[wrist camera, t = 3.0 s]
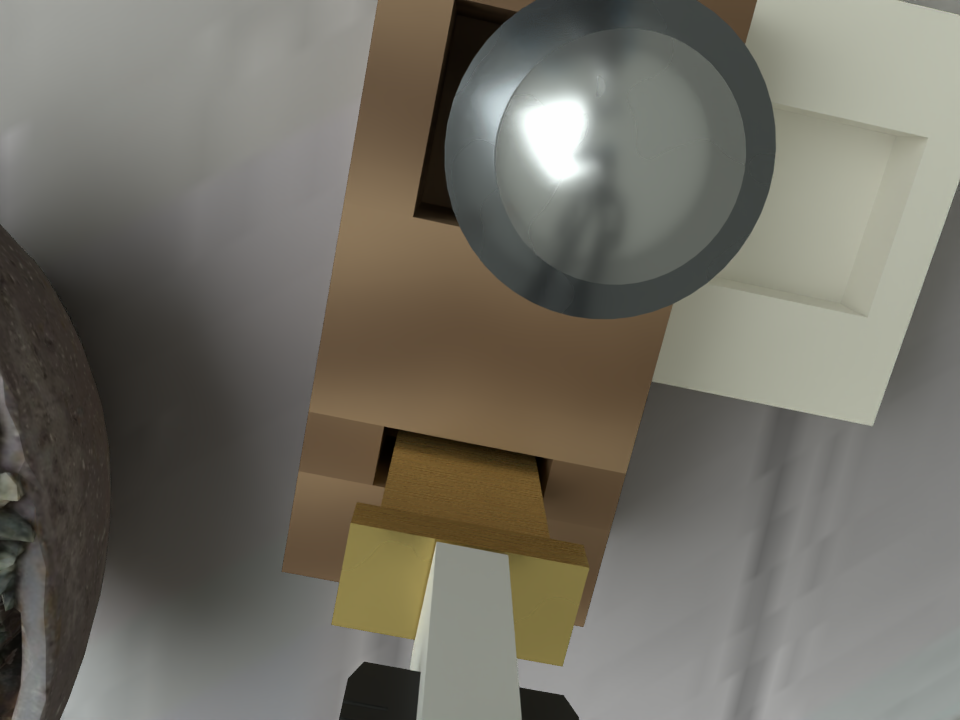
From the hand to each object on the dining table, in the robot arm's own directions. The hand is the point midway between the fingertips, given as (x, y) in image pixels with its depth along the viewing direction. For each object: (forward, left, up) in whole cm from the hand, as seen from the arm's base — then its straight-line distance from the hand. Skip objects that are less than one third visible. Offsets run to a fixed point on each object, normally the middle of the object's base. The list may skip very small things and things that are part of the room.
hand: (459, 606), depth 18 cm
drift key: (0, 0, -10) cm, 10 cm away
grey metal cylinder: (-10, 0, -11) cm, 14 cm away
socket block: (-5, 0, -13) cm, 14 cm away
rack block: (-9, +8, -13) cm, 18 cm away
